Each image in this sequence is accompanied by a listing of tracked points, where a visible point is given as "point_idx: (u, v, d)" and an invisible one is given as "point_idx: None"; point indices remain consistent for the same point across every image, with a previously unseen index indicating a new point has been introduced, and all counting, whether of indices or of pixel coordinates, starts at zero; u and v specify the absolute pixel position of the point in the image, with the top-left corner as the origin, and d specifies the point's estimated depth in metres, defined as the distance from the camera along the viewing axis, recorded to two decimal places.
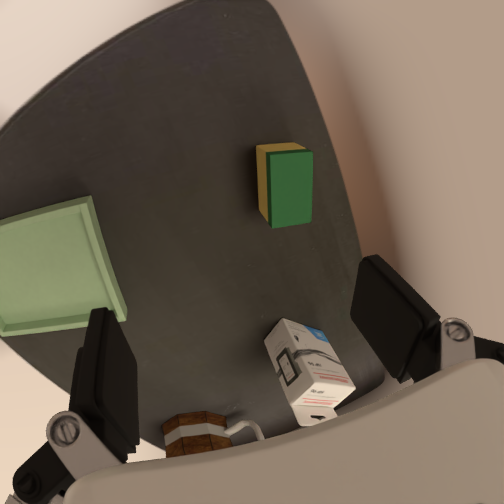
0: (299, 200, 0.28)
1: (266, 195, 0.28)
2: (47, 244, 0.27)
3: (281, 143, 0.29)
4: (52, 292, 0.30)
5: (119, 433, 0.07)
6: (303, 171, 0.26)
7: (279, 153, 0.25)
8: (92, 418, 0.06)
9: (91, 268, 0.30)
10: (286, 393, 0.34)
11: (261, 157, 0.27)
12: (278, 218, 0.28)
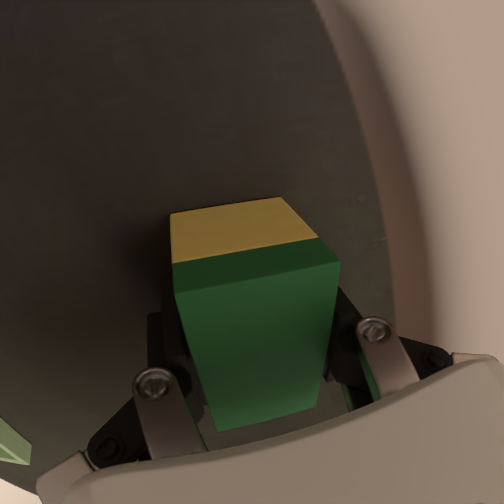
0: (287, 383, 0.09)
1: None
2: None
3: (243, 203, 0.10)
4: None
5: (196, 390, 0.08)
6: (302, 324, 0.08)
7: (214, 279, 0.07)
8: (177, 373, 0.08)
9: None
10: None
11: None
12: (230, 418, 0.10)
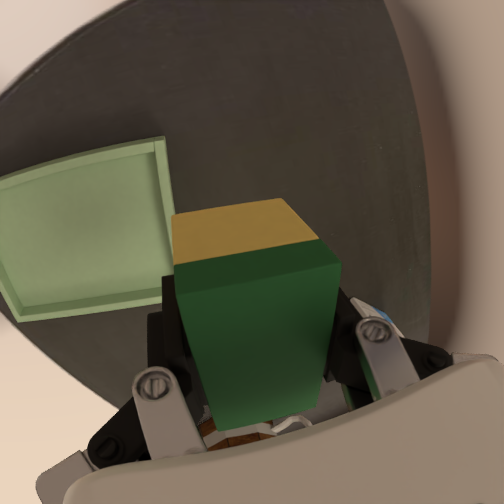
0: (288, 384, 0.09)
1: None
2: (96, 197, 0.22)
3: (244, 204, 0.11)
4: (93, 263, 0.25)
5: (196, 390, 0.08)
6: (303, 325, 0.08)
7: (216, 281, 0.07)
8: (177, 373, 0.08)
9: (152, 230, 0.25)
10: None
11: None
12: (231, 418, 0.10)
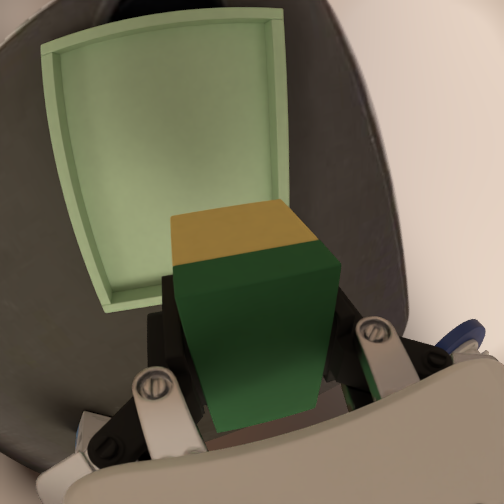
0: (287, 385, 0.09)
1: None
2: (228, 204, 0.21)
3: (244, 205, 0.10)
4: (136, 190, 0.19)
5: (196, 390, 0.08)
6: (302, 326, 0.08)
7: (215, 282, 0.07)
8: (177, 372, 0.08)
9: None
10: None
11: None
12: (231, 419, 0.10)
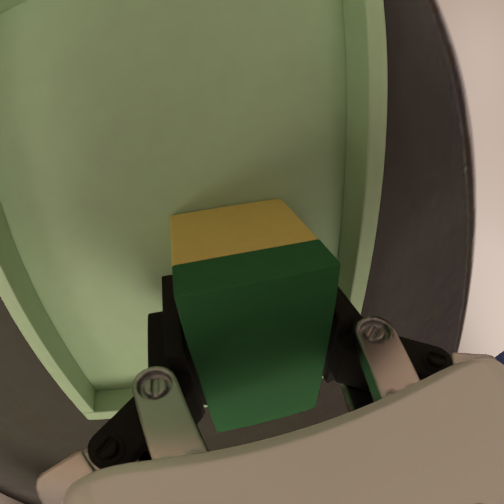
0: (287, 384, 0.09)
1: None
2: None
3: (243, 205, 0.11)
4: (110, 262, 0.10)
5: (196, 390, 0.08)
6: (302, 326, 0.08)
7: (214, 282, 0.07)
8: (177, 372, 0.08)
9: None
10: None
11: None
12: (231, 419, 0.10)
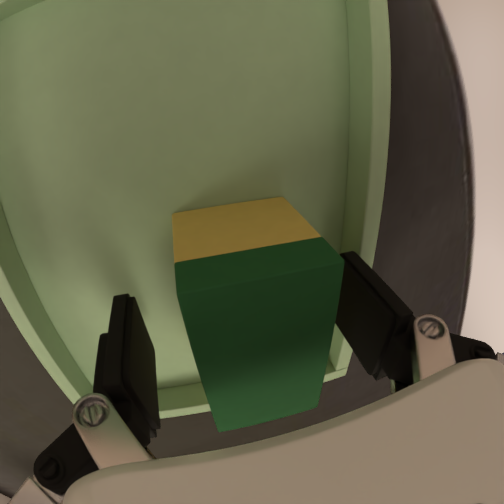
0: (289, 383, 0.09)
1: None
2: None
3: (246, 202, 0.10)
4: (114, 271, 0.11)
5: (142, 415, 0.07)
6: (305, 324, 0.08)
7: (217, 279, 0.07)
8: (118, 399, 0.07)
9: None
10: None
11: None
12: (232, 419, 0.10)
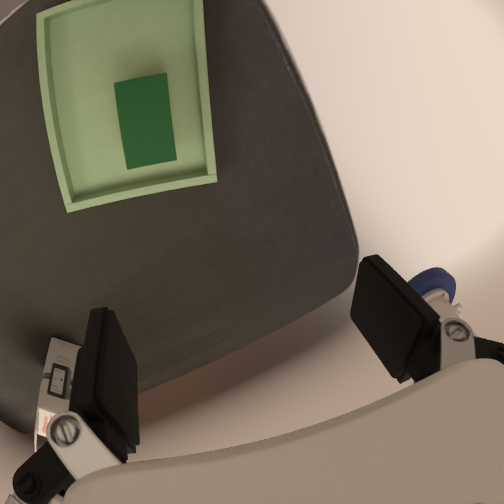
0: (156, 132, 0.21)
1: None
2: None
3: None
4: (96, 110, 0.22)
5: (119, 433, 0.07)
6: (156, 97, 0.19)
7: (126, 80, 0.18)
8: (92, 418, 0.06)
9: (130, 169, 0.26)
10: (42, 396, 0.25)
11: None
12: (133, 156, 0.21)
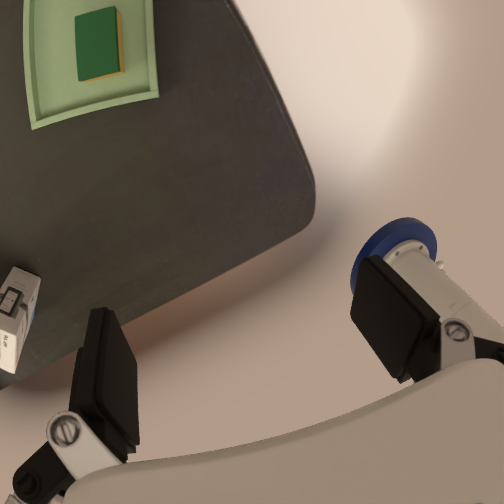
0: (103, 50, 0.20)
1: None
2: None
3: None
4: (64, 46, 0.22)
5: (119, 433, 0.07)
6: (105, 23, 0.19)
7: (84, 14, 0.18)
8: (92, 418, 0.06)
9: (87, 92, 0.25)
10: None
11: None
12: (83, 70, 0.21)
